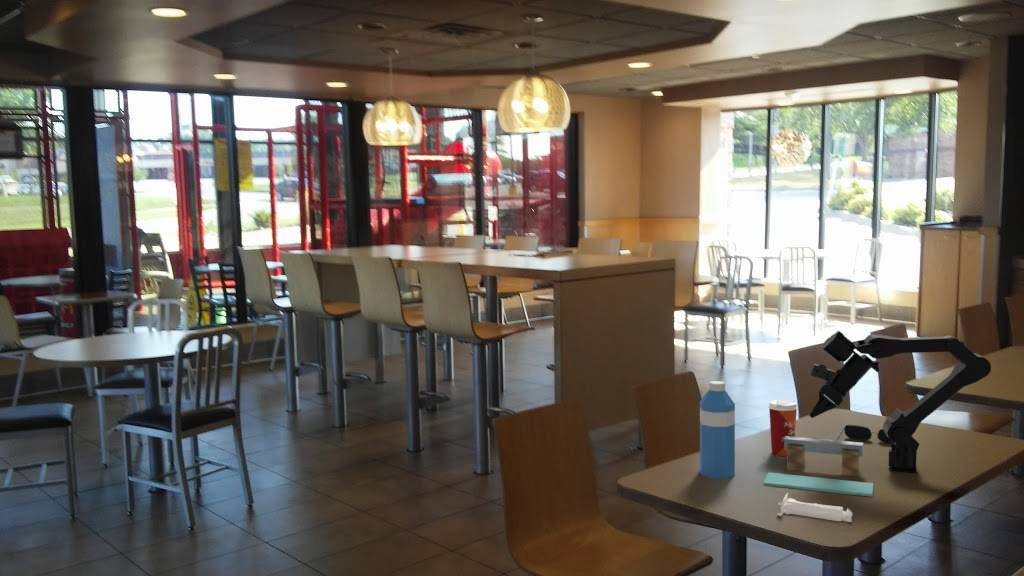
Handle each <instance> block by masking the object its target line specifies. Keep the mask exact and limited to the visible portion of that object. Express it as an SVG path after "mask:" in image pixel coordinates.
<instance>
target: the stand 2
mask: <svg viewBox="0 0 1024 576" xmlns="http://www.w3.org/2000/svg"><path fill="white" fill-rule="evenodd" d="M859 473H860V456H858V451H849V450H842V455H841V476H842V475H843V476H849V477H850V476H851V477H859Z"/></svg>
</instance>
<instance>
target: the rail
mask: <svg viewBox="0 0 1024 576" xmlns="http://www.w3.org/2000/svg"><path fill="white" fill-rule="evenodd" d="M787 445H793V446H803V451H805V453H806V452H807V453H816V454H817V453H818V454H819V453H820V454H827V455H841V456H842V450H849V451H858V456H859V458H860V457H862V458H863V455H864V442H859V441H858V442H857V441H848V440H838V441H837V439H825V438H824V439H823V438H811V437H801V436H795V437H790V436H785V438H784V450H787Z"/></svg>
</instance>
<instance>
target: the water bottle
mask: <svg viewBox="0 0 1024 576" xmlns="http://www.w3.org/2000/svg"><path fill="white" fill-rule="evenodd" d="M735 411H736V404H735V402H734V401H733V399H732V398H731V397H730V395H729V394H728V392H727V391H726V382H725V381H721V380H712V381H709V389H708V390H707V391H706V393H705V394H704V395H703V396H702V398H701V399H700V400H699V472H700V474H701V476H702V477H707V478H710V479H729V478H731V476H732V477H734V476H736V475H735V473H736V470H735V469H736V468H735V466H736V464H735V463H736V462H735V460H736V459H735V458H736V457H735V456H736V451H735V449H736V446H735V442H736V441H735V440H736V439H735V438H736V437H735V436H736V435H735V434H736V433H735V432H736V431H735V430H736V426H735V425H736V421H735V419H736V416H735V415H736V413H735ZM733 475H734V476H733Z"/></svg>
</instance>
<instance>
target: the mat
mask: <svg viewBox="0 0 1024 576" xmlns="http://www.w3.org/2000/svg"><path fill="white" fill-rule="evenodd" d="M763 485H764V486H770V487H771V486H772V487H780V488H789V489H797V490H798V489H799V490H806V491H807V490H808V491H815V492H825V493H835V494H843V495H852V496H863V497H873V492H874V483H873V482H865V481H856V480H846V479H835V478H826V477H817V476H807V475H795V474H787V473H778V472H768V473H767V475H766V477H765V479H764V481H763Z"/></svg>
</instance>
